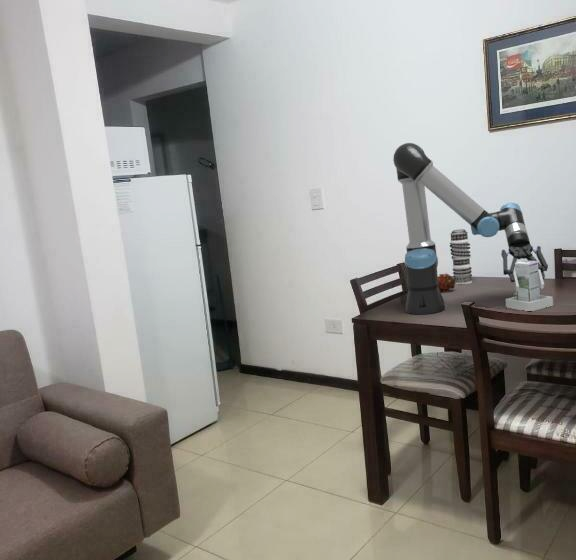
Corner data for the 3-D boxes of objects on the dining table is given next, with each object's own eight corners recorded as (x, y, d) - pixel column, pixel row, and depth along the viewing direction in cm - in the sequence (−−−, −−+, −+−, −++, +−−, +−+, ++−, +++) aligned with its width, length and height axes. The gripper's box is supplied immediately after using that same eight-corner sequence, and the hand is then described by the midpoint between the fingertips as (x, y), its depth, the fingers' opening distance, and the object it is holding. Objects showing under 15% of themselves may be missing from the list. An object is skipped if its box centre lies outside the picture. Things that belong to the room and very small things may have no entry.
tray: (529, 311, 195) (529, 302, 194) (506, 307, 205) (505, 299, 204) (553, 305, 199) (552, 296, 198) (528, 301, 209) (528, 293, 208)
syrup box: (540, 300, 200) (538, 260, 198) (530, 303, 198) (527, 263, 195) (527, 298, 205) (524, 259, 203) (516, 301, 203) (514, 262, 200)
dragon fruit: (456, 295, 244) (433, 298, 253) (462, 281, 248) (439, 284, 257) (446, 282, 240) (423, 285, 250) (452, 268, 245) (430, 271, 254)
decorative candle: (449, 284, 262) (444, 231, 259) (459, 280, 268) (455, 229, 265) (466, 285, 256) (462, 230, 252) (477, 281, 262) (472, 228, 258)
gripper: (544, 241, 211) (559, 290, 198) (488, 246, 216) (498, 295, 202) (547, 228, 205) (562, 278, 192) (489, 234, 210) (500, 284, 197)
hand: (530, 287), depth 197 cm, fingers closed on syrup box, 8 cm apart
